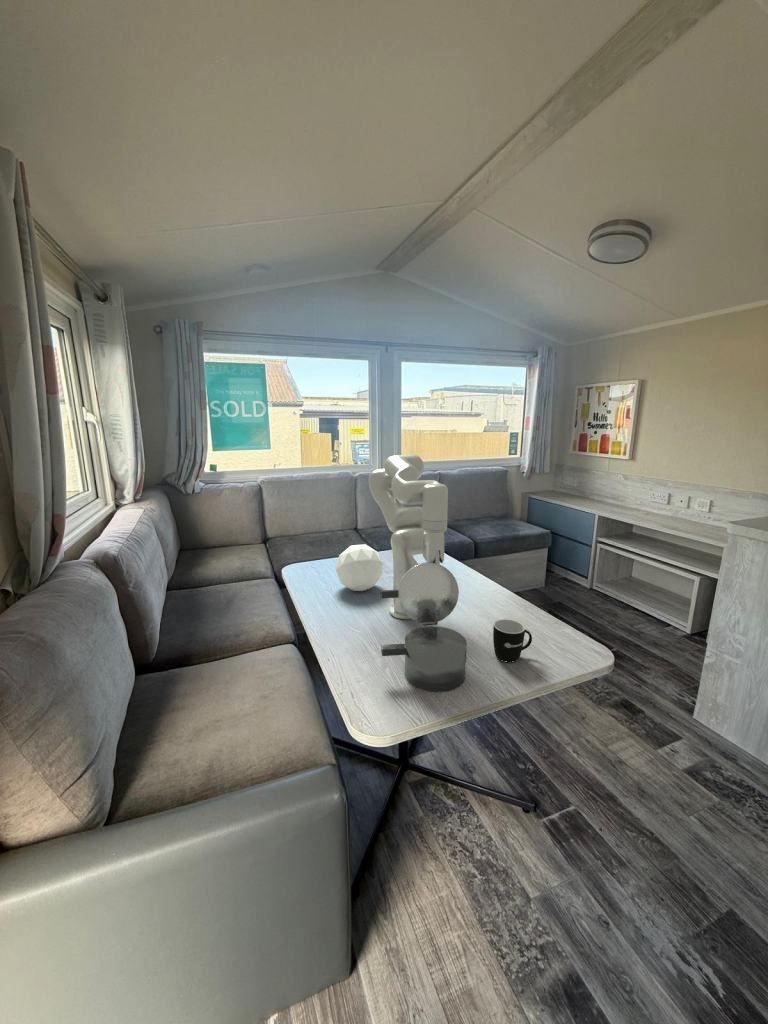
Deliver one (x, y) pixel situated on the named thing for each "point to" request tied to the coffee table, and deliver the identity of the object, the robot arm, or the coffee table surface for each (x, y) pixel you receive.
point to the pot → (432, 658)
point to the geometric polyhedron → (359, 567)
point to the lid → (426, 593)
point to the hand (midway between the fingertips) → (433, 581)
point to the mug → (509, 639)
